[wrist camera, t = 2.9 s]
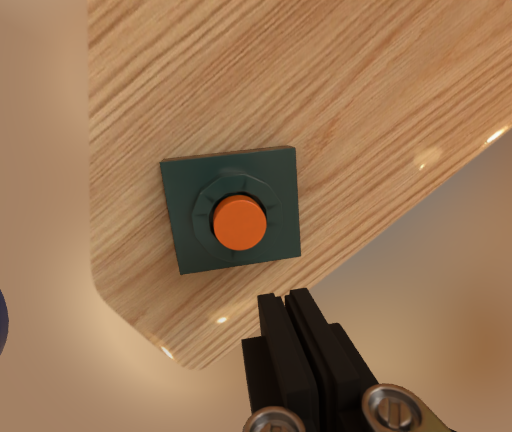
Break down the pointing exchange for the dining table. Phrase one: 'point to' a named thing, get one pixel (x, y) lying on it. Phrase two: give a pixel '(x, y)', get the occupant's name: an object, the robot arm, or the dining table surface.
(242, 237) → the orange push button
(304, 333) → the robot arm
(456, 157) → the dining table surface
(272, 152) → the button housing
